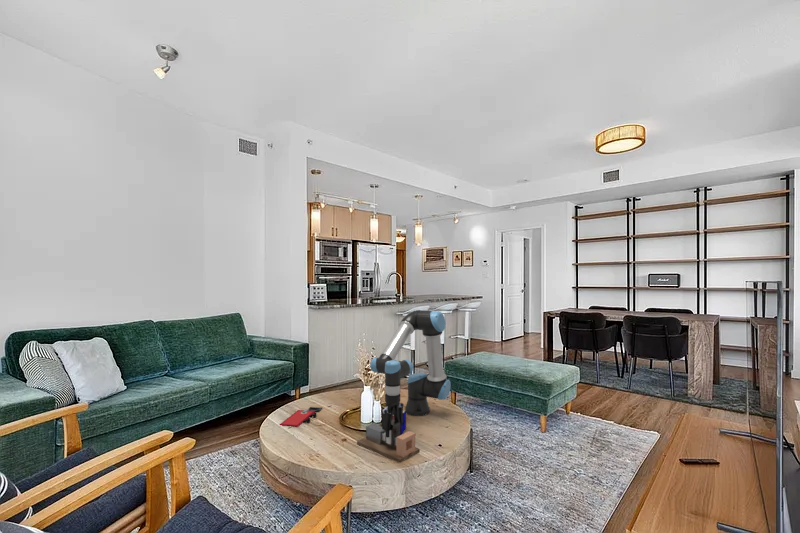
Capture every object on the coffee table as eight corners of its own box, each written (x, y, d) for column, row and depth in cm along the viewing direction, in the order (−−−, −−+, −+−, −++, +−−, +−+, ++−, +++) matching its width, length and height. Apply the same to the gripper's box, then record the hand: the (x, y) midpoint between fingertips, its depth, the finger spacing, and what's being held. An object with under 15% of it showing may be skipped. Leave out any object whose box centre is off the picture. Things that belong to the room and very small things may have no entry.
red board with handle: (325, 409, 243) (303, 407, 246) (325, 404, 243) (303, 403, 246) (303, 428, 213) (279, 426, 217) (303, 423, 213) (279, 422, 217)
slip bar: (378, 434, 196) (378, 414, 196) (403, 444, 185) (403, 423, 185) (371, 437, 193) (371, 417, 193) (397, 447, 181) (397, 426, 181)
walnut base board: (376, 435, 203) (376, 432, 203) (419, 451, 184) (419, 448, 184) (356, 444, 193) (356, 441, 193) (400, 462, 174) (400, 459, 174)
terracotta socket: (408, 447, 185) (408, 431, 185) (415, 450, 183) (415, 433, 183) (396, 454, 179) (396, 437, 179) (402, 457, 176) (402, 439, 176)
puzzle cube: (400, 436, 202) (400, 416, 203) (383, 433, 206) (383, 414, 206) (406, 428, 212) (406, 410, 212) (389, 426, 215) (389, 408, 215)
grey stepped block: (373, 436, 199) (373, 423, 199) (387, 441, 192) (387, 428, 192) (366, 439, 195) (366, 426, 195) (380, 445, 188) (380, 431, 188)
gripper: (399, 387, 196) (399, 433, 195) (374, 396, 182) (374, 445, 182) (410, 390, 191) (410, 437, 190) (385, 399, 177) (385, 450, 177)
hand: (392, 441), depth 186 cm, fingers closed on slip bar, 5 cm apart
